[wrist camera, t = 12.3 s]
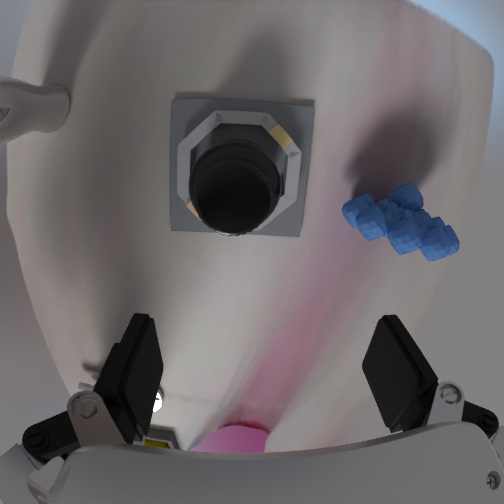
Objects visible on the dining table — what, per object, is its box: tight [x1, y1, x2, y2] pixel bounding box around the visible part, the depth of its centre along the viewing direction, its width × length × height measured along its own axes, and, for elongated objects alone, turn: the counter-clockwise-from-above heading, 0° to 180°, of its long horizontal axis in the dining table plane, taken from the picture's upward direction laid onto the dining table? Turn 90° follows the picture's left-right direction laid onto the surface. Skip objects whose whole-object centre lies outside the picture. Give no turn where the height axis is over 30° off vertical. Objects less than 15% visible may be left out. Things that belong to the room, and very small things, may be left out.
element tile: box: [144, 439, 170, 449], centre depth 52 cm, size 15×15×5 cm
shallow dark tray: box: [145, 428, 179, 450], centre depth 53 cm, size 20×20×2 cm
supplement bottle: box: [188, 139, 281, 236], centre depth 22 cm, size 7×7×12 cm
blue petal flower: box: [342, 182, 459, 262], centre depth 24 cm, size 12×7×12 cm, turn 83°
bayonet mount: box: [170, 99, 314, 237], centre depth 27 cm, size 14×14×4 cm
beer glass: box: [0, 76, 70, 145], centre depth 17 cm, size 7×7×15 cm
